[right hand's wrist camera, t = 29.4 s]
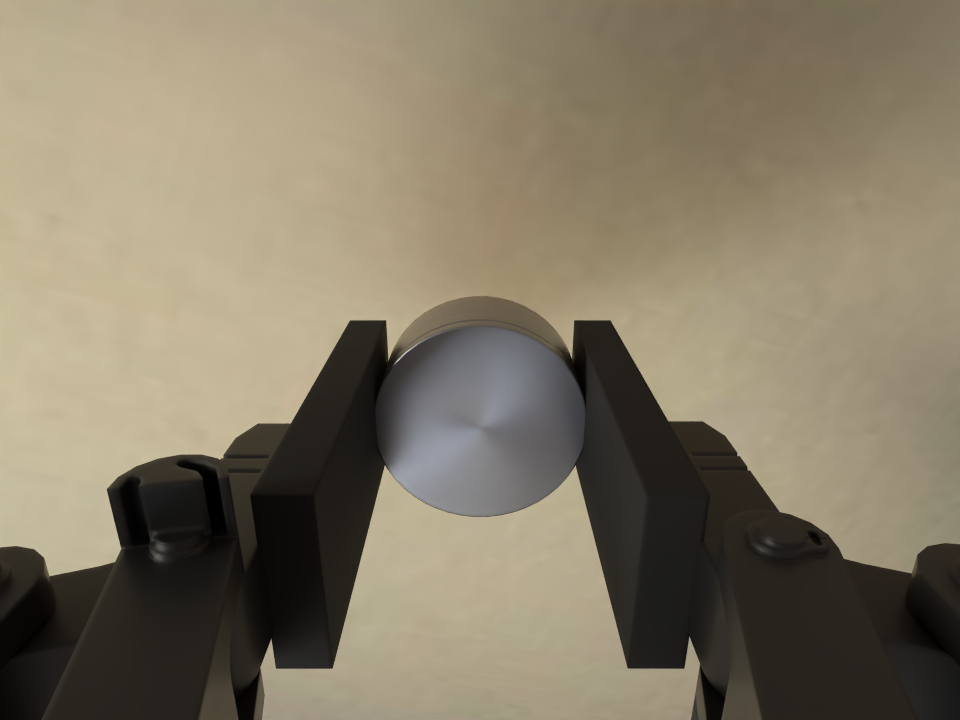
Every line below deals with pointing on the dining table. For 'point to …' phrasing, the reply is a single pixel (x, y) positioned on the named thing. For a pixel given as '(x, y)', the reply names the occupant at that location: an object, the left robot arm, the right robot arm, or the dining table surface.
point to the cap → (480, 408)
